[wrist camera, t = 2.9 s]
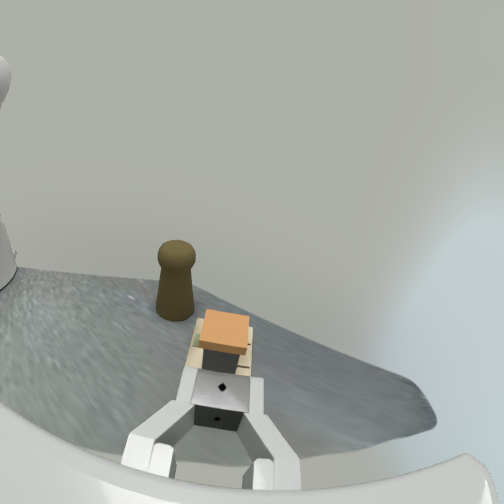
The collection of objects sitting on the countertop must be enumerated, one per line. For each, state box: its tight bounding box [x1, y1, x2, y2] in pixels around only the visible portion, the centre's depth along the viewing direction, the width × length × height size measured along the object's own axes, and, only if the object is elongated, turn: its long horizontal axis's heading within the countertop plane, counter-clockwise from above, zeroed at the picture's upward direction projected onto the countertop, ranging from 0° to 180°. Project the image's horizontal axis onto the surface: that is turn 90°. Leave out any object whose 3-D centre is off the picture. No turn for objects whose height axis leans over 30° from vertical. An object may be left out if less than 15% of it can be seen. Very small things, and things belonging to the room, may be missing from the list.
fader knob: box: [198, 309, 249, 374], centre depth 26 cm, size 4×4×10 cm
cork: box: [156, 240, 196, 321], centre depth 38 cm, size 6×6×11 cm
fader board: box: [185, 318, 253, 377], centre depth 32 cm, size 8×15×2 cm, turn 178°
